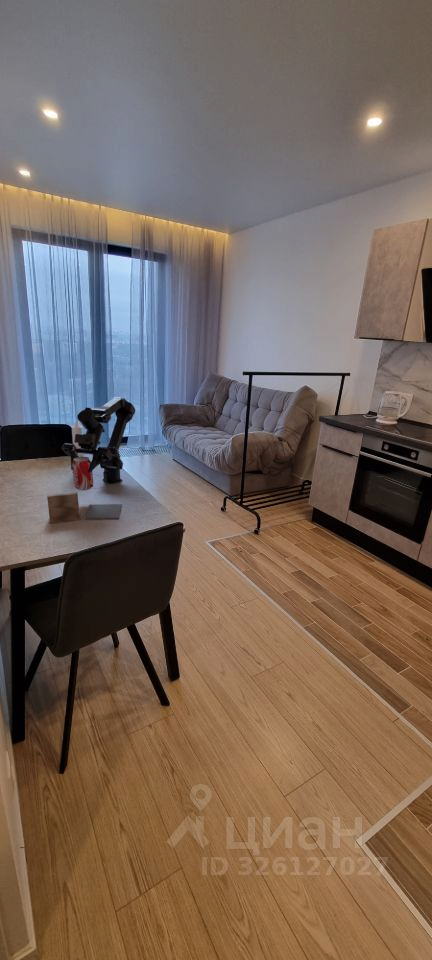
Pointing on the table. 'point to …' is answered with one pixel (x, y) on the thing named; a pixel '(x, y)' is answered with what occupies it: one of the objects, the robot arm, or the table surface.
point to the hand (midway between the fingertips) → (80, 471)
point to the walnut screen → (63, 507)
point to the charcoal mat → (103, 511)
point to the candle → (77, 430)
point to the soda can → (82, 473)
